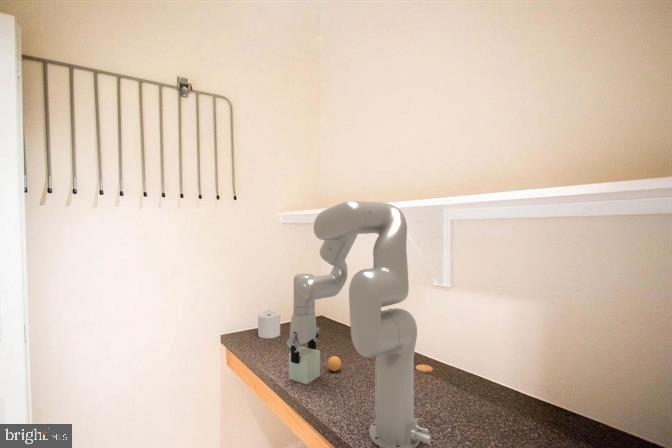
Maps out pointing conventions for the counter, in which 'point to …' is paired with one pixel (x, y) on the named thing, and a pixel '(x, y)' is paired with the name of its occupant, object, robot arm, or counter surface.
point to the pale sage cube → (305, 366)
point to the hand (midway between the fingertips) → (303, 357)
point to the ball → (334, 363)
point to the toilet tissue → (269, 324)
